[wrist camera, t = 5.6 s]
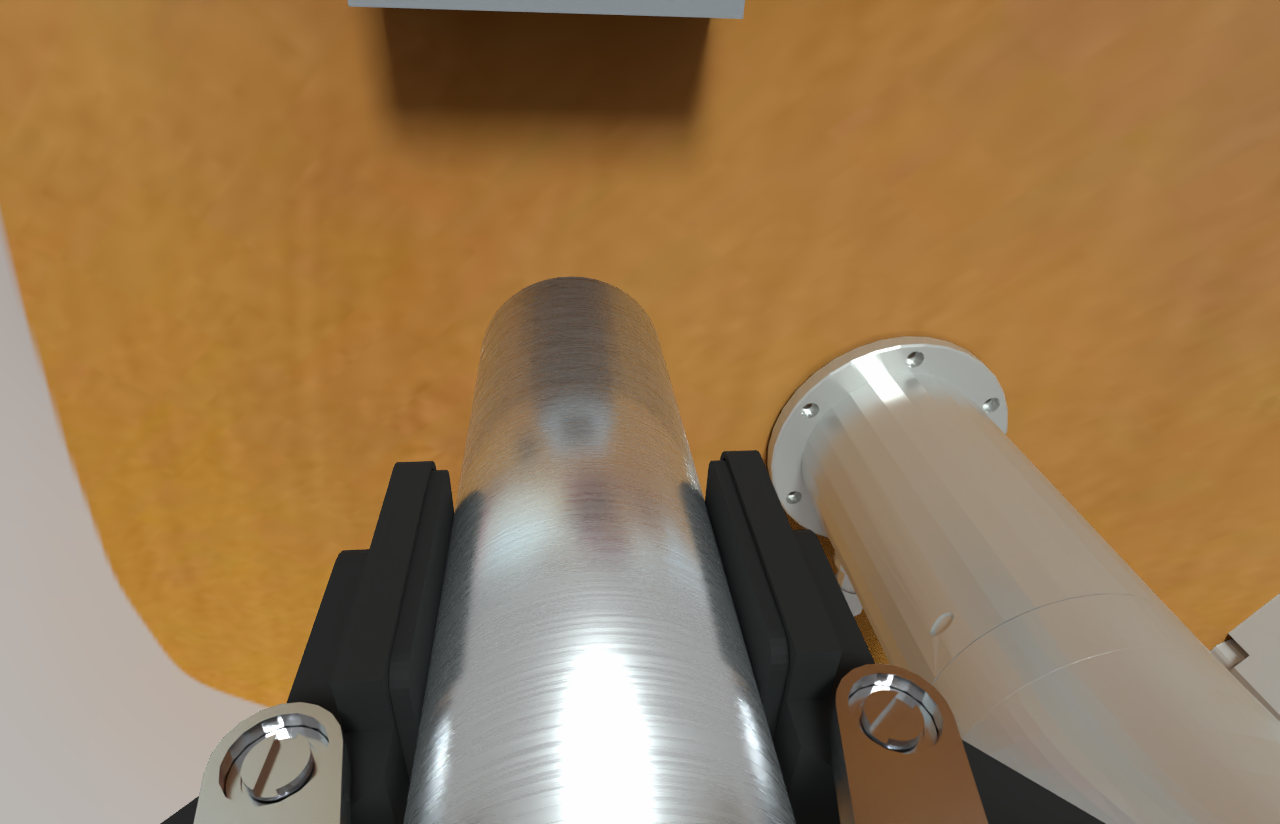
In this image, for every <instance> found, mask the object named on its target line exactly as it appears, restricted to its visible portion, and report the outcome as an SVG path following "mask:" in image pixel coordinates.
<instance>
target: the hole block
mask: <svg viewBox="0 0 1280 824" xmlns="http://www.w3.org/2000/svg"><path fill="white" fill-rule="evenodd" d="M744 3H745V0H348V5H349V6H353V7H385V8H417V9H448V10H480V11H512V12H544V13H576V14H608V15H639V16H671V17H703V18H735V19H743V13H744Z"/></svg>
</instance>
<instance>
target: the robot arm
mask: <svg viewBox="0 0 1280 824" xmlns="http://www.w3.org/2000/svg"><path fill="white" fill-rule="evenodd" d="M1007 426H1008V408H1007V403H1006V399H1005V394H1004V391H1003V390H1002V388H1001V386H1000V384H999V382H998V380H997V378H996V377H995V375H994V374H993V373H992V372H991V371H990V370H989V369H988V368H987V367H986V366H985V365H984V364H983V363H982V362H981V361H980V360H979V359H978V358H976V357H975V356H974V355H973V354H971V353H970V352H969V351H968V350H966V349H964V348H962V347H960V346H957V345H955V344H953V343H951V342H948V341H944V340H940V339H935V338H931V337H911V336H904V337H898V338H891V339H884V340H879V341H876V342H873V343H870V344H867V345H864V346H861V347H858V348H855V349H853V350H851V351H849V352H847V353H845V354H843V355H841V356H839V357H837V358H835V359H834V360H832V361H831V362H829V363H828V364H827V365H825V366H824V367H822V368H821V369H819V370H818V371H817V372H815V373H814V374H813V375H812V376H811V377H810V378H809V379H808V380H807V381H806V382H805V383H803V384H802V385H801V386H800V387H799V388H798V389H797V390H796V392H795V393H794V394H793V396H792V397H791V398H790V400H789V401H788V402H787V404H786V405H785V406H784V408H783V409H782V411H781V413H780V415H779V417H778V419H777V421H776V423H775V425H774V427H773V431H772V435H771V438H770V442H769V446H768V463H767V466H768V471H769V474H768V471H767V469H766V467H765V464H764V462H763V460H762V457H761V455H760V453H759V452H758V451H757V450H753V451H724V452H723V453H722V455H721V458H720V461H711V462H710V464H709V469H708V478H707V488H706V497H705V505H706V508H707V512H708V515H709V519H710V522H711V526H712V529H713V533H714V536H715V540H716V543H717V547H718V550H719V554H720V557H721V561H722V564H723V568H724V571H725V575H726V579H727V582H728V586H729V589H730V593H731V596H732V600H733V603H734V607H735V610H736V614H737V617H738V621H739V624H740V628H741V631H742V635H743V638H744V642H745V645H746V649H747V653H748V656H749V660H750V663H751V667H752V670H753V674H754V677H755V681H756V684H757V688H758V691H759V695H760V698H761V702H762V705H763V709H764V712H765V716H766V719H767V723H768V727H769V730H770V734H771V737H772V741H773V744H774V748H775V751H776V755H777V758H778V762H779V765H780V769H781V772H782V776H783V779H784V783H785V786H786V790H787V793H788V797H789V800H790V804H791V808H792V811H793V815H794V818H795V822H796V824H1280V722H1279V721H1278V720H1277V719H1276V718H1275V717H1274V716H1273V715H1272V714H1271V713H1270V712H1269V711H1268V710H1267V709H1266V708H1265V707H1264V706H1263V705H1262V704H1261V703H1260V702H1259V701H1258V700H1257V699H1256V698H1255V697H1254V696H1253V695H1252V694H1251V693H1250V692H1249V691H1248V690H1247V689H1246V688H1245V687H1244V686H1243V685H1242V684H1241V683H1240V682H1239V681H1238V680H1237V679H1236V678H1235V677H1234V676H1233V675H1232V674H1231V673H1230V672H1229V671H1228V670H1227V669H1226V668H1225V667H1224V666H1223V665H1222V664H1221V663H1220V662H1219V660H1218V659H1217V658H1216V657H1215V656H1214V655H1213V654H1212V653H1211V652H1210V651H1209V650H1208V649H1207V648H1206V647H1205V646H1204V645H1203V644H1202V643H1201V642H1200V641H1199V640H1198V638H1197V637H1196V636H1195V635H1194V634H1193V633H1192V632H1191V631H1190V630H1189V629H1188V628H1187V627H1186V626H1185V625H1184V624H1183V623H1182V621H1181V620H1180V619H1179V618H1178V617H1177V616H1176V615H1175V614H1174V613H1173V612H1172V611H1171V610H1170V609H1169V608H1168V607H1167V606H1166V605H1165V604H1164V603H1163V602H1162V601H1161V600H1160V598H1159V597H1158V596H1157V595H1156V594H1155V593H1154V592H1153V591H1152V590H1151V589H1150V588H1149V587H1148V586H1147V585H1146V584H1145V583H1144V581H1143V580H1142V579H1141V578H1140V577H1139V576H1138V575H1137V574H1136V573H1135V572H1134V571H1133V570H1132V569H1131V568H1130V567H1129V566H1128V564H1127V563H1126V562H1125V561H1124V560H1123V559H1122V558H1121V557H1120V556H1119V555H1118V554H1117V553H1116V552H1115V551H1114V550H1113V548H1112V547H1111V546H1110V545H1109V544H1108V543H1107V542H1106V541H1105V540H1104V539H1103V538H1102V537H1101V536H1100V535H1099V534H1098V533H1097V531H1096V530H1095V529H1094V528H1093V527H1092V526H1091V525H1090V524H1089V523H1088V522H1087V521H1086V520H1085V519H1084V518H1083V517H1082V516H1081V514H1080V513H1079V512H1078V511H1077V510H1076V509H1075V508H1074V507H1073V506H1072V505H1071V504H1070V503H1069V502H1068V501H1067V500H1066V499H1065V497H1064V496H1063V495H1062V494H1061V493H1060V492H1059V491H1058V490H1057V489H1056V488H1055V487H1054V486H1053V485H1052V484H1051V483H1050V482H1049V480H1048V479H1047V478H1046V477H1045V476H1044V475H1043V474H1042V473H1041V472H1040V471H1039V470H1038V469H1037V468H1036V467H1035V466H1034V465H1033V463H1032V462H1031V461H1030V460H1029V459H1028V458H1027V457H1026V456H1025V455H1024V454H1023V453H1022V452H1021V451H1020V450H1019V449H1018V448H1017V446H1016V445H1015V444H1014V443H1013V442H1012V441H1011V440H1010V439H1009V438H1008V437H1007V436H1006V432H1007ZM782 506H783V507H782ZM783 508H784V510H785V511H786V513H787V514H788V515H789V516H790V517H791V518H793V519H794V520H795V521H796V522H797V523H798V524H799V525H801V526H802V527H804V528H806V529H804V530H792V529H791V526H790V524H789V522H788V519H787V517H786V514H785V512H784V510H783ZM453 520H454V508H453V500H452V492H451V484H450V477H449V472H448V470H436V466H435V463H434V462H433V461H423V462H397V463H396V464H395V466H394V468H393V471H392V475H391V478H390V482H389V485H388V488H387V492H386V495H385V499H384V502H383V505H382V509H381V512H380V516H379V519H378V522H377V526H376V529H375V533H374V536H373V539H372V543H371V546H370V549H366V550H344V551H342V552H341V553H340V554H339V555H338V557H337V559H336V561H335V564H334V567H333V570H332V573H331V576H330V579H329V582H328V584H327V587H326V590H325V593H324V596H323V599H322V602H321V605H320V608H319V611H318V614H317V616H316V619H315V622H314V625H313V628H312V631H311V634H310V637H309V640H308V643H307V645H306V648H305V651H304V654H303V657H302V660H301V663H300V666H299V669H298V672H297V675H296V677H295V680H294V683H293V686H292V689H291V692H290V695H289V698H288V701H287V703H286V704H280V705H277V706H274V707H270V708H267V709H264V710H262V711H259V712H258V713H256V714H254V715H253V716H251V717H249V718H247V719H246V720H244V721H242V722H241V723H239V724H238V725H237V726H236V727H235V728H234V729H233V730H231V731H230V732H229V733H228V734H227V735H226V736H225V737H224V738H223V739H222V740H221V742H220V743H219V744H218V746H217V747H216V749H215V750H214V751H213V753H212V754H211V756H210V758H209V761H208V764H207V767H206V769H205V772H204V775H203V780H202V785H201V789H200V794H199V796H198V797H197V798H195V799H194V800H193V801H192V802H190V803H189V804H187V805H186V806H185V807H183V808H182V809H180V810H179V811H178V812H176V813H175V814H173V815H172V816H171V817H169V818H168V819H167V820H165V821H164V822H162V823H161V824H403V823H404V817H405V811H406V805H407V799H408V793H409V787H410V781H411V775H412V769H413V763H414V756H415V750H416V744H417V738H418V732H419V726H420V720H421V714H422V708H423V702H424V696H425V690H426V684H427V677H428V671H429V665H430V659H431V653H432V647H433V641H434V635H435V629H436V623H437V617H438V611H439V605H440V599H441V592H442V586H443V580H444V574H445V568H446V562H447V556H448V550H449V544H450V538H451V532H452V526H453ZM815 534H818V535H821V536H824V537H827V538H829V540H830V542H831V544H832V546H833V548H834V550H835V552H834V557H833V558H834V563H835V565H836V566H837V567H838V570H837V573H836V574H835V575H834V573H833V570H832V568H831V566H830V564H829V562H828V559H827V557H826V555H825V553H824V551H823V548H822V546H821V544H820V542H819V540H818V538H817V536H816V535H815ZM863 609H864V611H865V614H866V616H867V618H868V620H869V622H870V624H871V626H872V628H873V630H874V632H875V634H876V636H877V638H878V641H879V643H880V645H881V647H882V649H883V651H884V653H885V655H886V657H887V659H888V661H889V663H890V665H887V664H875V662H874V660H873V658H872V656H871V654H870V651H869V649H868V647H867V645H866V643H865V640H864V638H863V636H862V634H861V632H860V629H859V627H858V625H857V623H856V621H855V618H854V616H856V615H858V614H860V613H861V611H862V610H863Z"/></svg>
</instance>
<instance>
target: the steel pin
mask: <svg viewBox="0 0 1280 824" xmlns="http://www.w3.org/2000/svg"><path fill="white" fill-rule="evenodd" d="M403 824H796V822H795V818H794V815H793V811H792V808H791V804H790V800H789V797H788V793H787V790H786V786H785V783H784V779H783V776H782V772H781V769H780V765H779V762H778V758H777V755H776V751H775V748H774V744H773V741H772V737H771V734H770V730H769V727H768V723H767V719H766V716H765V712H764V709H763V705H762V702H761V698H760V695H759V691H758V688H757V684H756V681H755V677H754V674H753V670H752V667H751V663H750V660H749V656H748V653H747V649H746V645H745V642H744V638H743V635H742V631H741V628H740V624H739V621H738V617H737V614H736V610H735V607H734V603H733V600H732V596H731V593H730V589H729V586H728V582H727V579H726V575H725V571H724V568H723V564H722V561H721V557H720V554H719V550H718V547H717V543H716V540H715V536H714V533H713V529H712V526H711V522H710V519H709V515H708V512H707V508H706V505H705V501H704V497H703V494H702V490H701V487H700V483H699V480H698V476H697V473H696V469H695V466H694V462H693V459H692V455H691V452H690V448H689V445H688V441H687V438H686V434H685V431H684V427H683V423H682V420H681V416H680V413H679V409H678V406H677V402H676V399H675V395H674V392H673V388H672V385H671V381H670V378H669V374H668V371H667V367H666V364H665V360H664V357H663V353H662V350H661V346H660V342H659V339H658V336H657V333H656V330H655V327H654V325H653V323H652V321H651V319H650V318H649V316H648V315H647V313H646V312H645V310H644V309H643V308H642V307H641V306H640V305H639V304H638V303H637V302H636V301H635V300H634V299H633V298H632V297H630V296H629V295H628V294H626V293H625V292H623V291H622V290H620V289H619V288H617V287H614V286H612V285H610V284H608V283H605V282H602V281H599V280H595V279H590V278H584V277H558V278H553V279H548V280H544V281H541V282H538V283H535V284H533V285H530V286H528V287H526V288H524V289H522V290H521V291H519V292H518V293H516V294H515V295H513V296H512V297H511V298H510V299H509V300H507V301H506V302H505V303H504V304H503V305H502V306H501V307H500V309H499V310H498V311H497V312H496V314H495V315H494V317H493V318H492V320H491V321H490V323H489V325H488V328H487V330H486V332H485V336H484V339H483V343H482V350H481V356H480V362H479V368H478V374H477V380H476V386H475V392H474V398H473V404H472V410H471V416H470V422H469V428H468V435H467V441H466V447H465V453H464V459H463V465H462V471H461V477H460V483H459V489H458V495H457V501H456V507H455V514H454V520H453V526H452V532H451V538H450V544H449V550H448V556H447V562H446V568H445V574H444V580H443V586H442V592H441V599H440V605H439V611H438V617H437V623H436V629H435V635H434V641H433V647H432V653H431V659H430V665H429V671H428V677H427V684H426V690H425V696H424V702H423V708H422V714H421V720H420V726H419V732H418V738H417V744H416V750H415V756H414V763H413V769H412V775H411V781H410V787H409V793H408V799H407V805H406V811H405V817H404V823H403Z"/></svg>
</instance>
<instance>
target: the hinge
mask: <svg viewBox="0 0 1280 824" xmlns="http://www.w3.org/2000/svg"><path fill="white" fill-rule="evenodd" d="M1228 634H1229V635H1230V636H1231V637H1232V638H1233V639H1230V640H1228V641H1225V642H1223V643H1220V644H1218V645H1217V646H1216V647H1215V648H1213V649H1212V650H1211V651H1210V652H1211V653H1212V654H1213V655H1214V656H1215V657H1216V658H1217V659H1218V660H1219V662H1220V663H1221V664H1222V665H1223V666H1224V667H1225V668H1226V669H1227V670H1228V671H1229V672H1230V673H1231V674H1232V675H1233V676H1234V677H1235V678H1236V679H1237V680H1238V681H1239V682H1240V683H1241V684H1242V685H1243V686H1244V687H1245V688H1246V689H1247V690H1248V691H1249V692H1250V693H1251V694H1252V695H1253V696H1254V697H1255V698H1256V699H1257V700H1258V701H1259V702H1260V703H1261V704H1262V705H1263V706H1264V707H1265V708H1266V709H1267V710H1268V711H1269V712H1270V713H1271V714H1272V715H1273V716H1274V717H1275V718H1276V719H1277V720H1278V721H1279V722H1280V594H1278V595H1277V596H1276V597H1274V598H1273V599H1272V600H1271V601H1269V602H1268V603H1267V604H1265V605H1264V606H1263V607H1261V608H1260V609H1259V610H1258V611H1256V612H1255V613H1254V614H1252V615H1251V616H1250V617H1249V618H1247V619H1246V620H1245V621H1243V622H1242V623H1241V624H1240V625H1238V626H1237V627H1236V628H1234V629H1233V630H1232V631H1230V632H1229V633H1228Z"/></svg>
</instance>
